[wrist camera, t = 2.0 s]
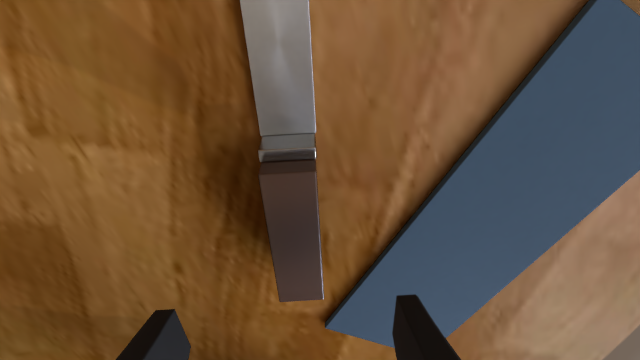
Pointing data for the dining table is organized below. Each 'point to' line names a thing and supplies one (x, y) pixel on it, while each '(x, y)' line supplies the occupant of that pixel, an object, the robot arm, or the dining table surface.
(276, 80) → the knife
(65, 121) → the dining table surface
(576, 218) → the mat
